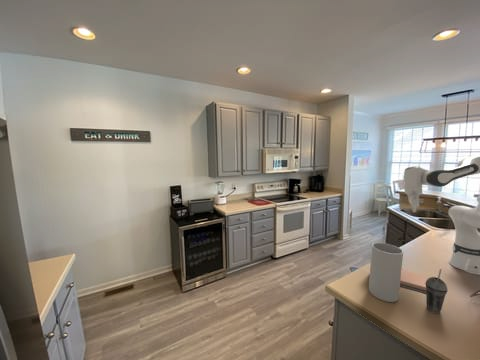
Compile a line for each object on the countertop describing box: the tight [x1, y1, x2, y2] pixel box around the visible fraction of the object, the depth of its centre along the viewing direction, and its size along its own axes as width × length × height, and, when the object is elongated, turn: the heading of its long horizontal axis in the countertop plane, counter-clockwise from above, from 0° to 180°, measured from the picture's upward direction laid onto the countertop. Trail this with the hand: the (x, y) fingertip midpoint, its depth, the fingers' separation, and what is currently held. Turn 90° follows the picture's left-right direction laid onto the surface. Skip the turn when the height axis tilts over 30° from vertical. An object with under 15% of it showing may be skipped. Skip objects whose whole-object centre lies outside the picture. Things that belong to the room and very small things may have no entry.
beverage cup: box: [425, 268, 448, 315], centre depth 90 cm, size 7×7×20 cm
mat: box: [400, 284, 426, 295], centre depth 111 cm, size 18×16×1 cm
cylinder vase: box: [368, 242, 404, 303], centre depth 100 cm, size 12×12×25 cm
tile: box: [400, 269, 430, 291], centre depth 112 cm, size 15×2×15 cm
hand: (414, 211), depth 130 cm, fingers closed
